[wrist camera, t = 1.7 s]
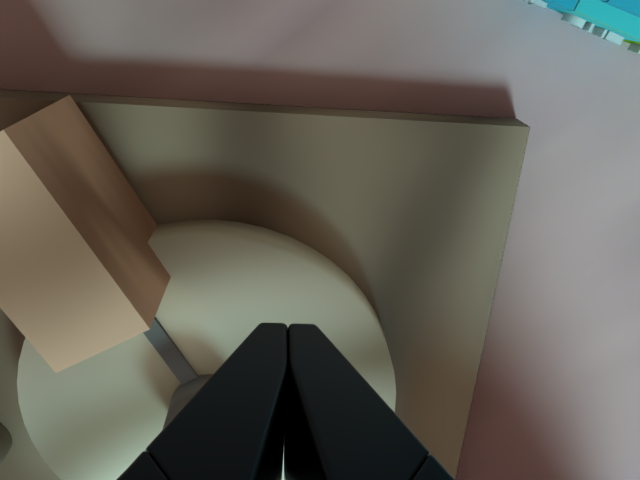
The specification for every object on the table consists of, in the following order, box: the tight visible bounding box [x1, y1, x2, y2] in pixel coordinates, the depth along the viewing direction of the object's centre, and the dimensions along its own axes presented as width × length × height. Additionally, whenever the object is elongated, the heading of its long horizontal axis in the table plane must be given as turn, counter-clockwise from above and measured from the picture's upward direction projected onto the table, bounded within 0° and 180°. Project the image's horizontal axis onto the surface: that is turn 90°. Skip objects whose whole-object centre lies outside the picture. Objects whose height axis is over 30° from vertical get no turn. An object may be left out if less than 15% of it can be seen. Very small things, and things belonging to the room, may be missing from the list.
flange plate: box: [0, 95, 396, 480], centre depth 19 cm, size 18×13×4 cm
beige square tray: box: [0, 90, 530, 480], centre depth 20 cm, size 20×20×6 cm
